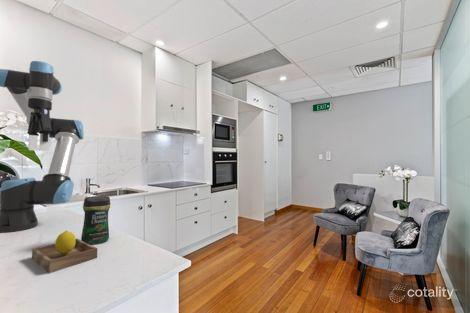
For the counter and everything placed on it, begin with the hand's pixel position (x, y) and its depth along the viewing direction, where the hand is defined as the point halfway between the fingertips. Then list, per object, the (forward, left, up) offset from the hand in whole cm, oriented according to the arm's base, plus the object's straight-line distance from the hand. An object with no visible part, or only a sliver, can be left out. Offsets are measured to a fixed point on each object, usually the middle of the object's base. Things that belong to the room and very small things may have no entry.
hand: (38, 150), depth 93 cm
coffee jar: (+23, +13, -37) cm, 45 cm away
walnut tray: (+31, 0, -37) cm, 48 cm away
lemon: (+31, 0, -36) cm, 47 cm away
